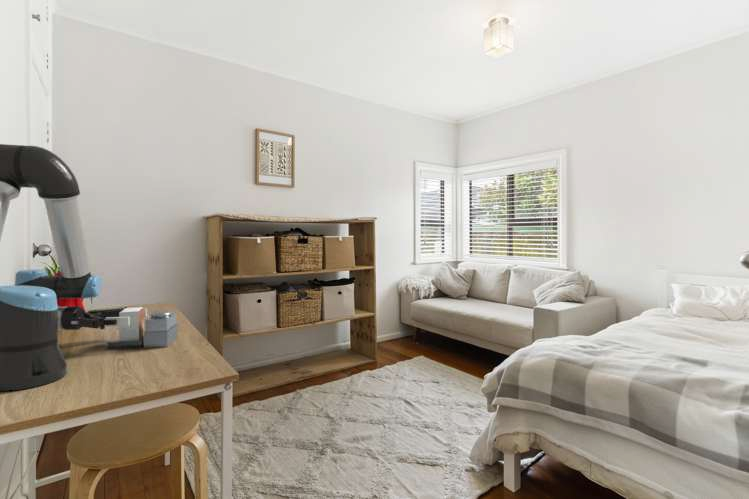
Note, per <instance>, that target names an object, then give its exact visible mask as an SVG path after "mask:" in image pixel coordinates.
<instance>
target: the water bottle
mask: <svg viewBox="0 0 749 499" xmlns="http://www.w3.org/2000/svg"><path fill="white" fill-rule="evenodd" d="M54 276H61V271H59V272H56V273H55V274H54ZM57 304H58V307H62V306H66V307H73V306H80V307H82V308H83V309H84V311H85V312H86V310H85V306H84V303H83V299H82V298H64V299H57Z"/></svg>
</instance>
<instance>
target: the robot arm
mask: <svg viewBox="0 0 749 499" xmlns="http://www.w3.org/2000/svg"><path fill="white" fill-rule="evenodd" d="M22 188H30V189H31V188H32V189H36V191H37V195H38V197H39V199H42V200H43V201H44V205H45V210H46V214H47V218H48V222H49V227H50V232H51V236H52V240H53V244H54V250H55V253H56V254H55V255H56V258H57V262H58V266H59V270H60V271H61V276H55V275H48V272H47V271H46V270H45V269H23V270H22V269H21V270H18V271H17V272H15V277H14V278H15V280H14V285H1V286H0V392H10V391H9V390H13V391H19V390H24V389H25V390H26V389H31V388H36V387H39V386H45V385H47V384H50V383H53V382H55V381H58V380H60V379H62V378H64V377H65V376H66V375H67V374H68V364H67V362H66V359H65V357H64V356H63V353H62V351H61V349H60V346H59V341H58V340H59V338H58V337H59V331H65V330H66V331H77V330H80V329H81V328H89V329H97V330H98V329H100V330H105V329H106V327H119V326H129V325H130V317H119V312H121V311H123V310H124V309H125V308H128V306H124V307H120V308H112V309H111V308H107V309H94V310H88V311H87V312H86V310H85V311H84V309H85V308H84V309H83V308H82V307H80V306H73V307H66V306H62V307H58V304H57V299H64V298H82V300H83V299H90V298H91V299H93V298H96V297H98V296H99V295H100V293H101V292H102V284H103V282H102V279H101V277H100V276H99V275H97V274H92V273H91V269H90V262H89V257H88V252H87V246H86V241H85V237H84V231H83V230H84V229H83V224H82V219H81V214H80V209H79V204H78V198H79V196H80V195H81V192H80V191H81V190H80V187H79V183H78V180H77V178H76V176H75V174H74V173H73V171H72V169H71V168H70V167H69V165H67V163H66V162H65V161H64V160H63V159H61V157H59V156H58V155H57V154H56V153H54V152H52V151H51V150H48V149H46V148H44V147H41V146H36V145H24V144H23V145H19V144H7V143H5V144H4V143H0V241H1V240H2V235H3V231H4V228H5V223H6V220H7V219H6V218H7V216H8V211H9V206H10V202H11V201H13V200H14V199H17V198H18V197H19V196H20V193H21V190H22ZM60 271H59V272H60ZM147 315H148V308H143V316H144V317H147Z"/></svg>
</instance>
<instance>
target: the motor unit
mask: <svg viewBox="0 0 749 499" xmlns="http://www.w3.org/2000/svg"><path fill="white" fill-rule="evenodd" d="M144 322H145V324H144V328H145V330H144V337H143V338H142V339H141V340H139V341H120V338H118V339H117V340H115V341H108V342H107V343H106V344H107V347H106V348H107V350H122V349H123V350H125V349H142V348H144V349H147V348H150V349H151V348H168V347H169V346H170V345H171V344H172V343H174V342H175V341H176V340H177V339H179V332H178V329H179V327H178V326H179V325H178V323H177V312H172V311H170V310H160V311H159V310H158V311H154V312H151V313H150V316H149V317H148V318H146V319H145V320H144ZM175 339H176V340H175Z"/></svg>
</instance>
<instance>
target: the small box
mask: <svg viewBox="0 0 749 499" xmlns="http://www.w3.org/2000/svg"><path fill="white" fill-rule="evenodd" d="M124 308H125V307H124ZM143 309H144V306H140V307H127V308H125V309H124V310H123V311H121V312H119V317H130V325H129V326H118V328H119V339H120V341H139V340H141V339H142V338H143V337H144V332H145V330H144V328H145V324H144V322H145V321H144V316H143Z"/></svg>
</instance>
